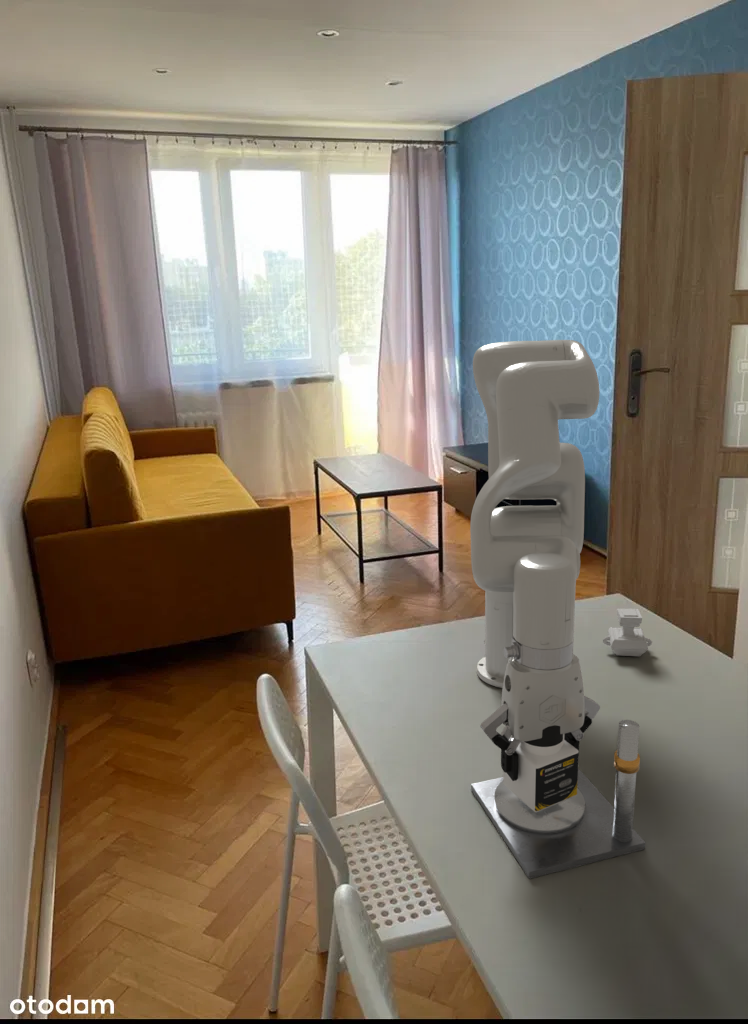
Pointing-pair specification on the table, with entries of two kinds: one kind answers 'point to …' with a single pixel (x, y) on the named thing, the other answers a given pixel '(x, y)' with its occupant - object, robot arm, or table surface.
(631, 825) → the base plate with post
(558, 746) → the medicine bottle
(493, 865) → the table surface
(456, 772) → the table surface
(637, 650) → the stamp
